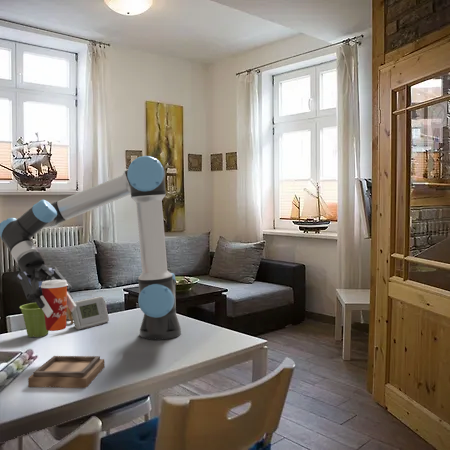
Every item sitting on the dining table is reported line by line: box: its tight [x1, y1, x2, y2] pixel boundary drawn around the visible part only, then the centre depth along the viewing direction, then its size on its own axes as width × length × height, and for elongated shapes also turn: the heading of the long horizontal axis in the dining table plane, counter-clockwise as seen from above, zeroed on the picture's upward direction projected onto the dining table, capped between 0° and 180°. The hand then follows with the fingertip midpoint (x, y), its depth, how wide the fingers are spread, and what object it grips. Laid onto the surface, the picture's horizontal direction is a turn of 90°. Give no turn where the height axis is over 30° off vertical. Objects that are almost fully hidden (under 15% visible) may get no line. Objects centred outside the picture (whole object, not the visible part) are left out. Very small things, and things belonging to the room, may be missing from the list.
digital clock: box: [71, 295, 110, 331], centre depth 198 cm, size 16×9×11 cm, turn 132°
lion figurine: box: [66, 306, 74, 325], centre depth 205 cm, size 15×5×9 cm, turn 51°
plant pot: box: [19, 302, 49, 338], centre depth 185 cm, size 12×12×11 cm
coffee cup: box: [40, 279, 68, 332], centre depth 156 cm, size 8×8×15 cm
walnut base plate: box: [27, 355, 105, 389], centre depth 141 cm, size 16×16×4 cm
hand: (62, 311), depth 154 cm, fingers closed on coffee cup, 8 cm apart
